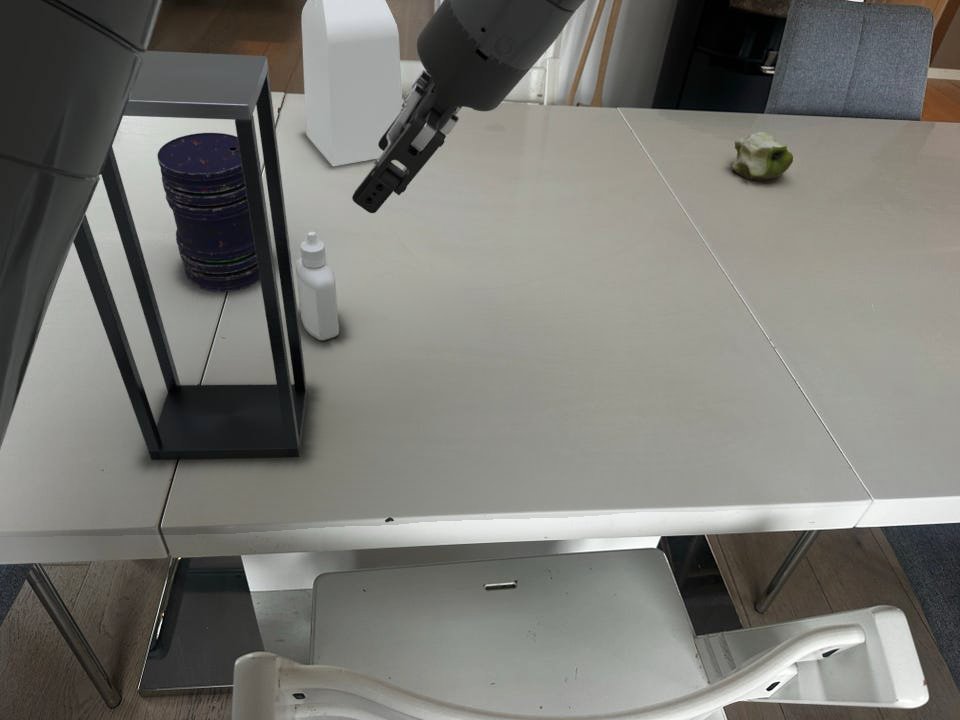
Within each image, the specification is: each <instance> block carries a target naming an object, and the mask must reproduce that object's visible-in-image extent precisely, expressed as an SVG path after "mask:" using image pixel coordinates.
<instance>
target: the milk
mask: <svg viewBox="0 0 960 720" xmlns="http://www.w3.org/2000/svg"><path fill="white" fill-rule="evenodd" d="M301 44H302V59H303V60H302V65H303V84H304V85H303V87H304V88H303V90H304V111H305V135H306V137H307V138H308V140H310V142H311V143H312V144H313V145H314V147H316V148H317V150H318V151H319V152H320V154H322V155H323V157H324V158H325V159H326V160H327V161H328V163H329V164H330V166H332V167H338V166H344V165H350V164H355V163H360V162H366V161H372V160H376V159H377V158H380V156H381V155H382V153H383V152H384V151H383V150H381V149H380V148H379V146H378V143H379V141H380V139H381V137H382V136H383V135H384V133H385V132H386V131H387V129H388V128H389V127H390V125H391V124H392V123H393V121H394V120H395V119H396V117H397V116H398V115H399V114H400V112H401V111H400V110H401V108H402V104H403V87H402V86H403V85H402V69H401V68H402V67H401V51H400V35H399V29H398V25H397V21H396V20H395V18H394V15H393V13H392V11H391V8H390V7H389V5H388V3H387V1H386V0H306V1H305V4H304V6H303V8H302V11H301Z"/></svg>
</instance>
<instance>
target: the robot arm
mask: <svg viewBox="0 0 960 720" xmlns="http://www.w3.org/2000/svg"><path fill="white" fill-rule="evenodd" d="M585 1H586V0H442V2H441V3H440V5H439V6H438V8H437V9H436V11H435V12H434V13H433V15H432V16H431V18H430V19H429V20H428V22H427V23H426V24H425V26H424V27H423V29H422V30H421V32H420V33H419V34H418V37H417V40H416V51H417V55H418V58H419V60H420V63H421V65H422V66H423V69H422V70H421V71H420V72H419V74H418V75H417V76H416V79H415V80H414V82H413V83H412V85H411V86H410V88H409V89H408V91H407V93H406V94H405V96H404V98H403V101H402V103H403V104H402V108H401V110H400V111H401V112H400V114H399V115H398V116H397V117H396V119H395V120H394V121H393V123H392V124H391V125H390V127H389V128H388V129H387V131H386V132H385V133H384V135H383V136H382V137H381V139H380V141H379V143H378V146H379V148H380V149H381V150H383V151H384V152H383V153H382V155H381V156H380V158H377V159H375V161H374V162H373V163H374V166H372V169H370V171H369V172H368V174H367V175H365V177H364V179H363V180H362V181H361V183H360V184H359V185H358V187H356V189H355V190H354V193H353V195H352V197H351V199H352V202H354V203H355V204H356V205H358V206H359V207H360V208H362V209H363V210H364V211H366V212H368V214H369V213H370V214H376V213H377V212H378V211H379V209H380V208H381V207H382V206H383V204H384V203H386V201H387V200H388V198H389V197H390V196H391V195H392V194H393V193H394V194H396V195H397V196H401V194H402V193H405V191H406V190H407V189H408V186H409V185H410V184H411V182H412V181H413V180H414V179H415V178H416V176H417V175H418V174H419V172H420V171H421V170H422V168H423V167H424V166H425V165H426V164H427V163H428V162H429V160H430V159H431V158H432V156H433V155H434V154H435V153H436V152H437V151H438V149H439V148H442V146H443V145H444V144H445V142H446V141H445V139H446V138H447V135H449V134H450V133H451V132H452V130H453V129H454V127H455V126H456V124H457V123H458V121H459V120H460V117H459V116H458V115H457V114H459V112H460V110H462V108H463V107H464V108H470V109H472V110H473V111H477V112H490V111H494V110H495V109H496V108H498V107H499V106H500V105H501V103H503V101H504V100H505V99H506V98H507V96H508V95H509V94H511V92H512V91H513V89H514V88H515V87H516V86H517V85H518V84H519V83H520V82H521V80H522V79H523V78H524V77H525V76H526V74H528V72H529V71H530V70H531V69H532V68H533V67H534V66H535V64H536V63H537V62H538V61H539V60H540V59H541V57H542V56H543V55H544V54H545V53H546V52H547V51H548V50H549V48H550V47H551V46H552V45H553V44H554V43H555V41H556V40H557V39H558V37H559V36H560V35H561V33H562V31H563V30H564V28H565V27H566V25H567V24H568V22H570V21H569V20H570V19H571V18H572V16H573V15H574V14H575V13H576V11H577V10H578V9H579V8H580V7H581V6H582V5H583V3H584V2H585ZM163 2H164V0H0V450H1V448H2V446H3V443H4V441H5V437H6V435H7V431H8V428H9V426H10V422H11V420H12V417H13V414H14V410H15V407H16V404H17V401H18V399H19V395H20V392H21V389H22V387H23V385H24V380H25V378H26V374H27V372H28V369H29V365H30V362H31V359H32V357H33V354H34V351H35V347H36V344H37V341H38V338H39V334H40V331H41V329H42V326H43V323H44V321H45V317H46V314H47V311H48V309H49V306H50V303H51V302H52V301H51V300H52V297H53V295H54V292H55V289H56V286H57V284H58V281H59V278H60V276H61V273H62V272H63V269H64V267H65V266H64V265H65V264H66V261H67V258H68V255H69V253H70V251H71V249H72V245H73V244H74V243H73V241H74V239H75V236H76V234H77V232H78V229H79V227H80V225H81V222H82V220H83V218H84V216H85V214H87V211H88V209H89V206H90V204H91V201H92V199H93V196H94V194H95V191H96V189H97V187H98V184H99V182H100V180H101V178H100V175H101V174H102V172H103V169H104V166H105V164H106V161H107V158H108V156H109V153H110V150H111V147H113V144H114V142H115V139H116V136H117V134H118V131H119V128H120V126H121V123H122V120H123V117H124V116H123V115H124V112H125V109H126V106H127V104H128V101H129V98H130V96H131V93H132V90H133V87H134V85H135V82H136V79H137V76H138V74H139V71H140V68H141V65H142V63H143V60H142V58H141V57H140V55H139V54H143V53H145V52H146V51H148V49H149V46H150V43H151V40H152V36H153V33H154V30H155V27H156V24H157V21H158V17H159V14H160V12H161V8H162V5H163ZM137 53H138V54H137ZM393 161H397V162H398V163H400V164H401V165H402V166H404V167H403V169H401V168H400V167H398V165H396V164H395V163H394V162H393ZM101 176H102V175H101Z"/></svg>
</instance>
